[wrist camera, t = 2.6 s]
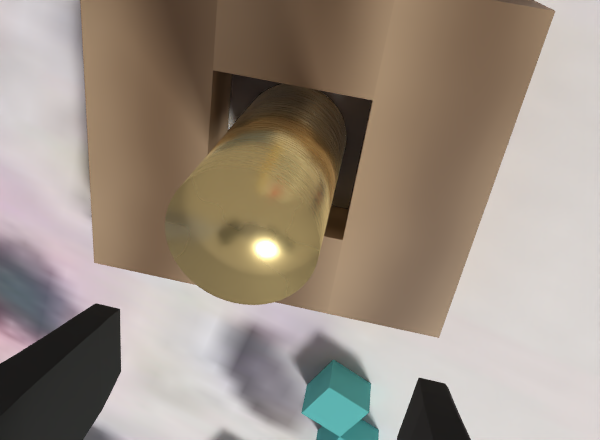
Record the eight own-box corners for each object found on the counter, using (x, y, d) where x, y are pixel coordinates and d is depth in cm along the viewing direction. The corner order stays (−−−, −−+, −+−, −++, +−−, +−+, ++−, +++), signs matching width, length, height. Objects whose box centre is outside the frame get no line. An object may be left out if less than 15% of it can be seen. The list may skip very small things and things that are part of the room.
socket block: (121, 232, 24) (94, 262, 22) (115, -72, 18) (76, -72, 16) (435, 299, 23) (438, 337, 21) (535, 0, 17) (555, 11, 15)
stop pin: (238, 173, 22) (163, 287, 15) (248, 74, 20) (166, 151, 13) (336, 192, 21) (306, 318, 14) (355, 94, 19) (332, 184, 12)
